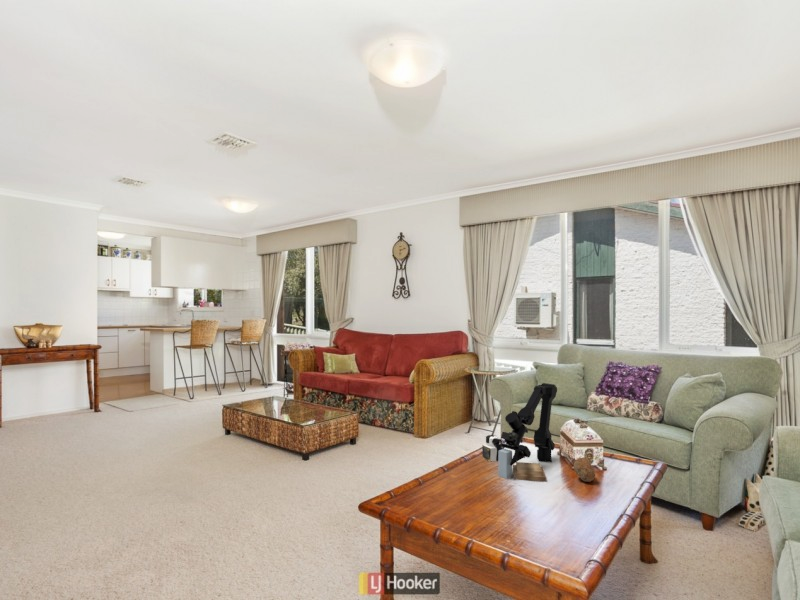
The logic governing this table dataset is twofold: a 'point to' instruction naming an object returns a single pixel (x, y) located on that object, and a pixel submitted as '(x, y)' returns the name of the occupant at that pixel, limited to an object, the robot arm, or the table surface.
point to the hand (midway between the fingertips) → (503, 462)
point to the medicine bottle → (489, 449)
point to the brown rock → (584, 469)
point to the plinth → (529, 477)
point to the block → (504, 463)
